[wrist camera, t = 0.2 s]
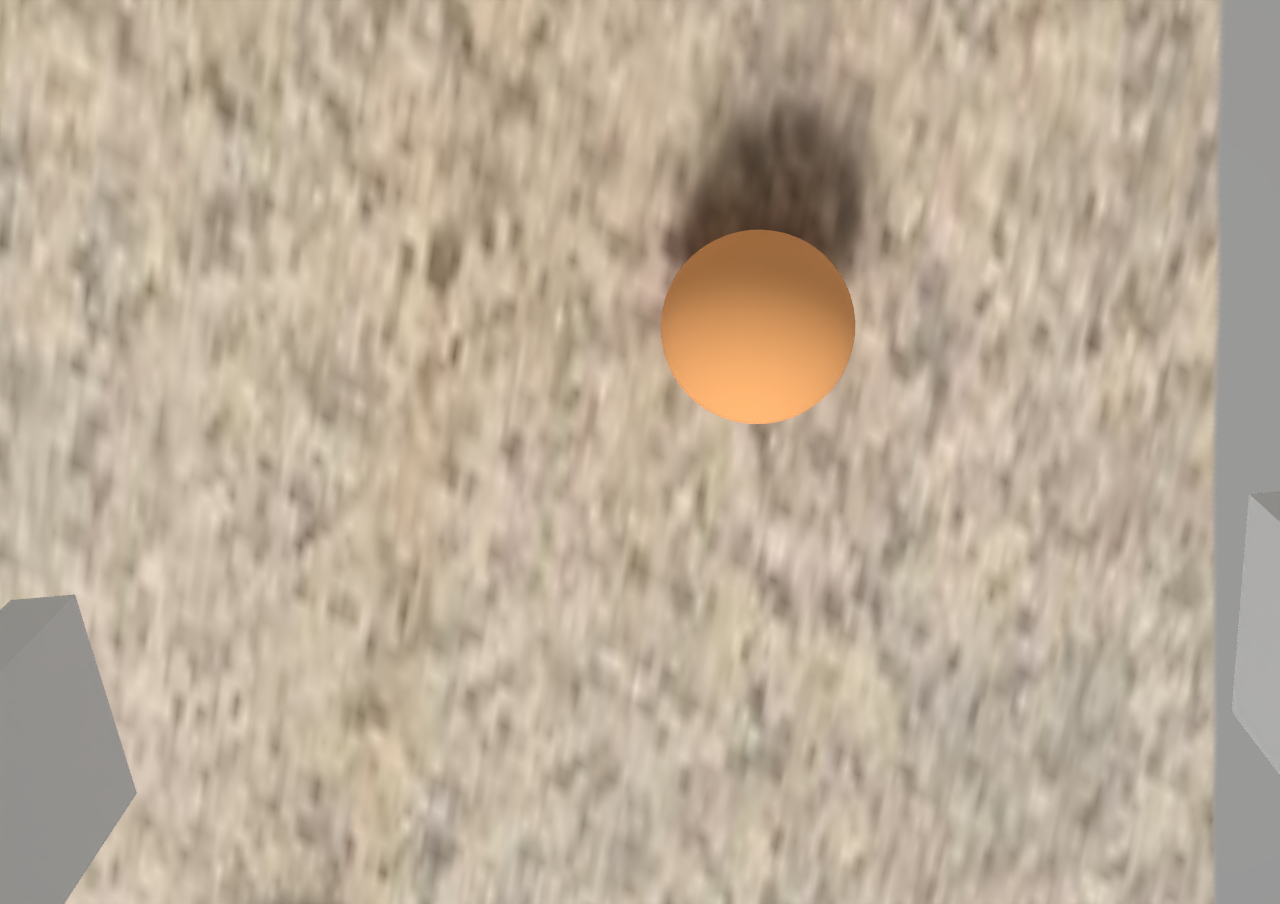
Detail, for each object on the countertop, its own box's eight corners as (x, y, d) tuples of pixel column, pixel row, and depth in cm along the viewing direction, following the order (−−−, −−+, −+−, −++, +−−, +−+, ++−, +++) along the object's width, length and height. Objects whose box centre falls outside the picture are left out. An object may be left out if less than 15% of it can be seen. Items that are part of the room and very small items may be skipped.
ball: (652, 222, 40) (649, 265, 34) (837, 202, 39) (864, 243, 34) (671, 395, 42) (670, 462, 36) (846, 378, 42) (872, 443, 36)
